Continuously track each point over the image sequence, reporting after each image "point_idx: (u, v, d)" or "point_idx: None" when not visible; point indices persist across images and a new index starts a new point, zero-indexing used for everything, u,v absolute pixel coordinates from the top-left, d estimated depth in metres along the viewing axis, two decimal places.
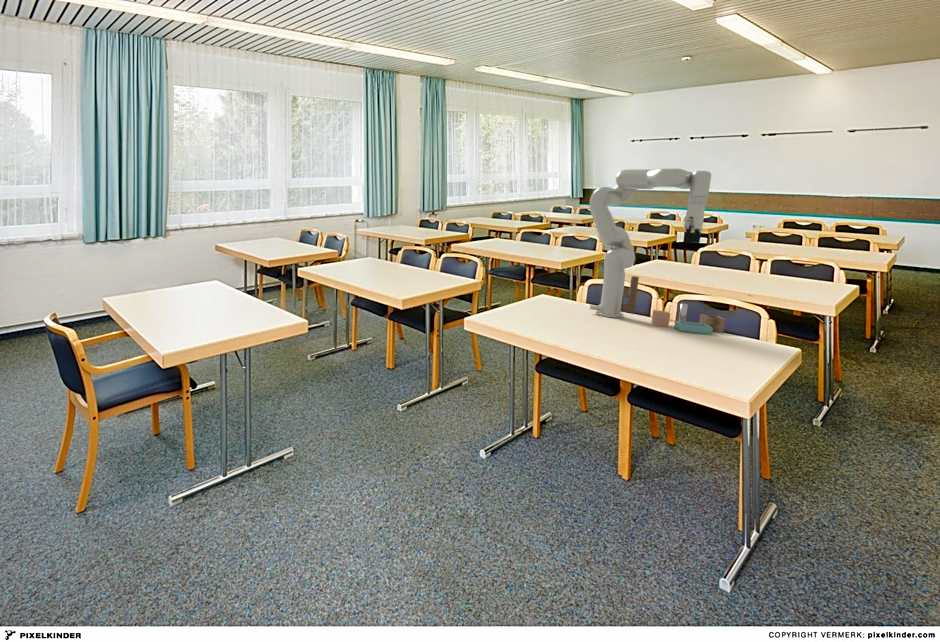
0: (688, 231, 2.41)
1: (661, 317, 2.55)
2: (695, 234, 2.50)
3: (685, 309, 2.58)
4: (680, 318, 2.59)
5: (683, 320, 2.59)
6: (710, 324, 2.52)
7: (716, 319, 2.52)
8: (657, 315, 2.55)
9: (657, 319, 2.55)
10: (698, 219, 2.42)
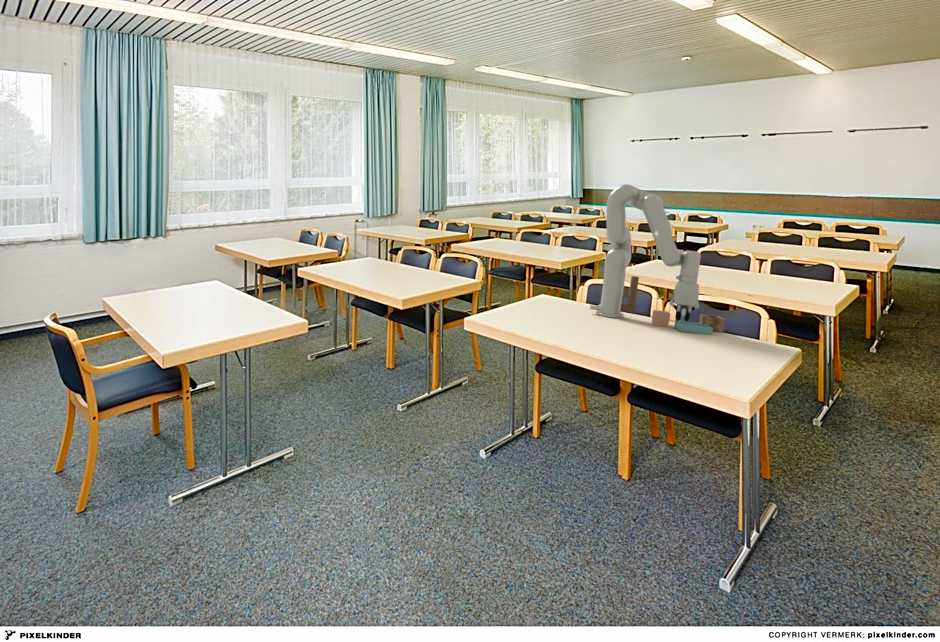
0: None
1: (661, 317, 2.55)
2: None
3: (685, 309, 2.58)
4: (680, 318, 2.59)
5: (683, 320, 2.59)
6: (710, 324, 2.52)
7: (716, 319, 2.52)
8: (657, 315, 2.55)
9: (657, 319, 2.55)
10: None
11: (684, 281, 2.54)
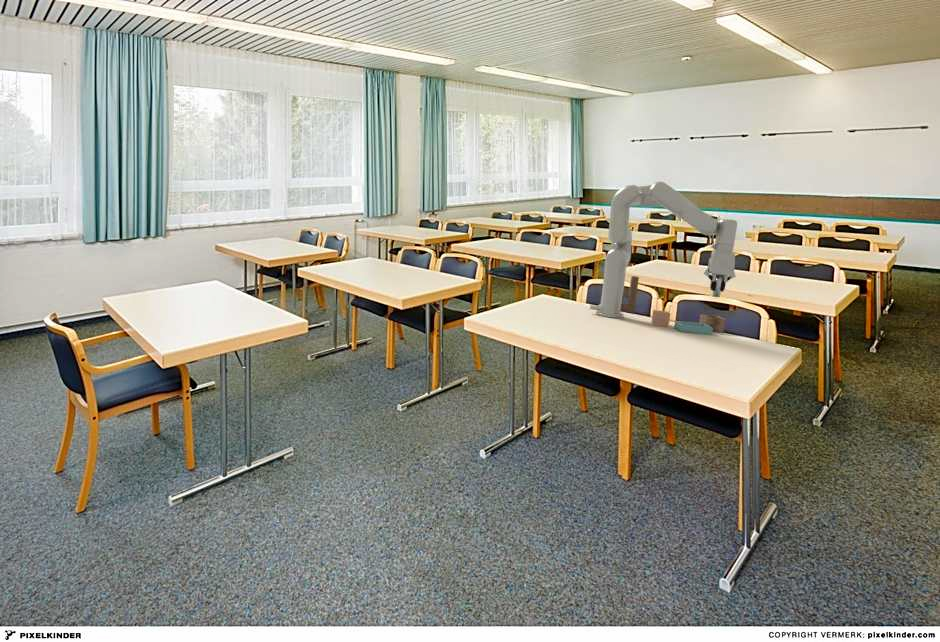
0: (725, 282, 2.53)
1: (661, 317, 2.55)
2: None
3: (721, 279, 2.51)
4: (715, 288, 2.52)
5: (718, 290, 2.52)
6: (710, 324, 2.52)
7: (716, 319, 2.52)
8: (657, 315, 2.55)
9: (657, 319, 2.55)
10: None
11: (720, 250, 2.48)
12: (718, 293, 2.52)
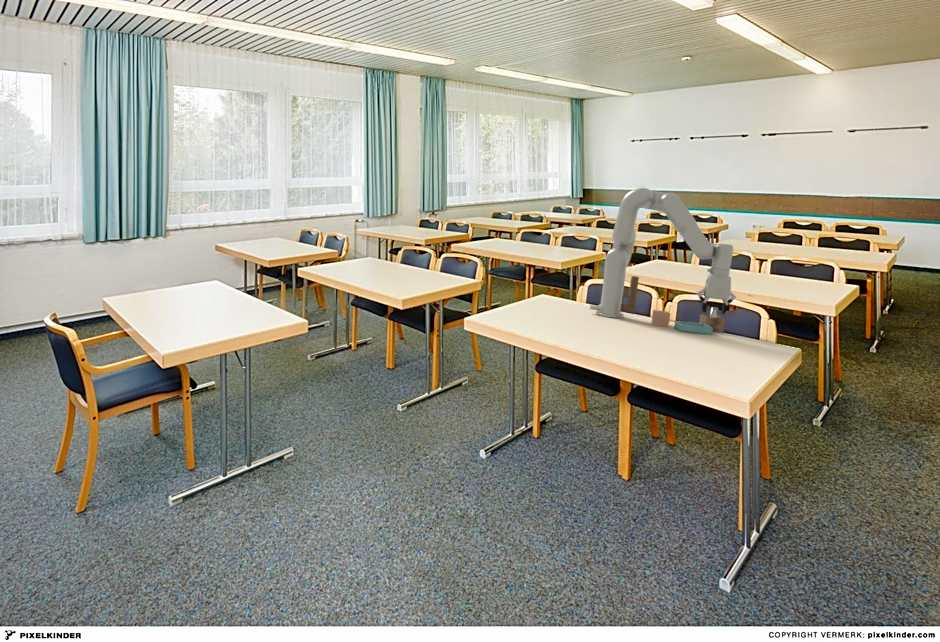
0: None
1: (661, 317, 2.55)
2: None
3: (716, 313, 2.54)
4: None
5: None
6: (710, 324, 2.52)
7: (716, 319, 2.52)
8: (657, 315, 2.55)
9: (657, 319, 2.55)
10: None
11: (716, 274, 2.50)
12: None
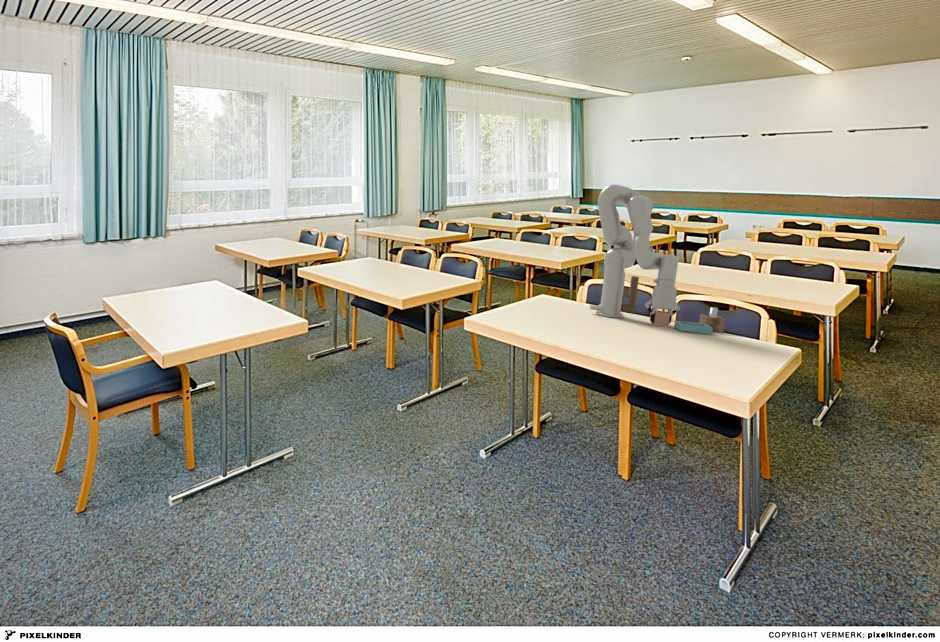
0: None
1: (661, 317, 2.55)
2: None
3: (715, 313, 2.54)
4: None
5: None
6: (710, 324, 2.52)
7: (716, 319, 2.52)
8: (657, 315, 2.55)
9: (657, 319, 2.55)
10: None
11: (662, 285, 2.52)
12: None
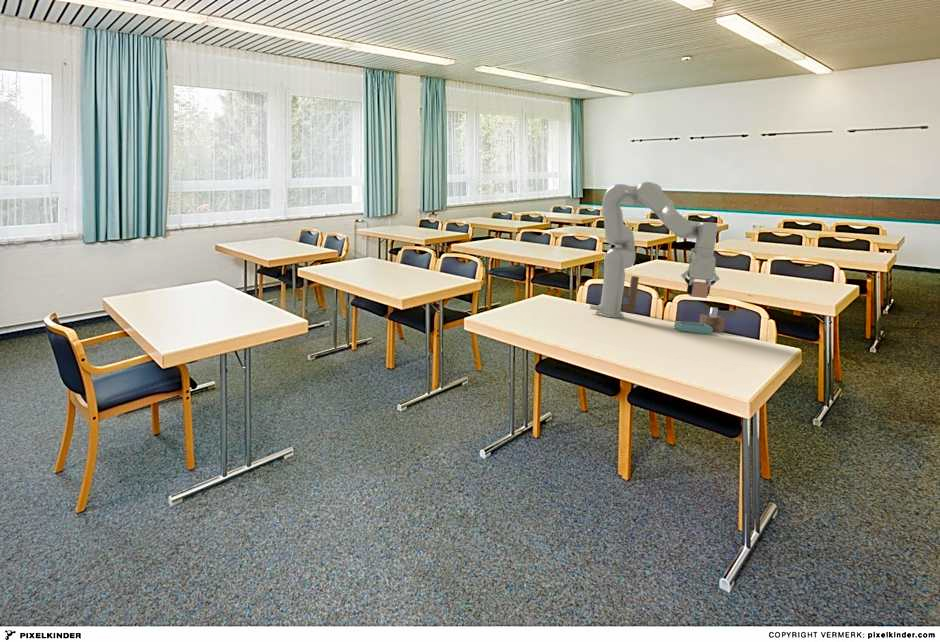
0: None
1: (699, 287, 2.43)
2: None
3: (715, 313, 2.54)
4: None
5: None
6: (710, 324, 2.52)
7: (716, 319, 2.52)
8: (695, 286, 2.43)
9: (695, 290, 2.44)
10: None
11: (700, 253, 2.41)
12: None
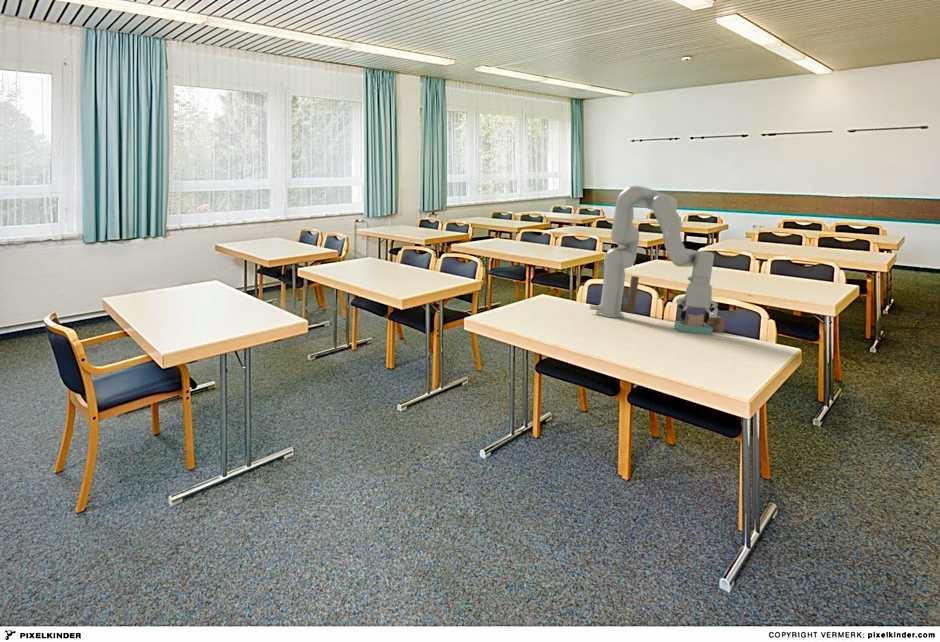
0: None
1: (694, 321, 2.46)
2: None
3: (715, 313, 2.54)
4: None
5: None
6: (710, 324, 2.52)
7: (716, 319, 2.52)
8: (690, 319, 2.46)
9: (690, 324, 2.46)
10: None
11: (696, 282, 2.43)
12: None
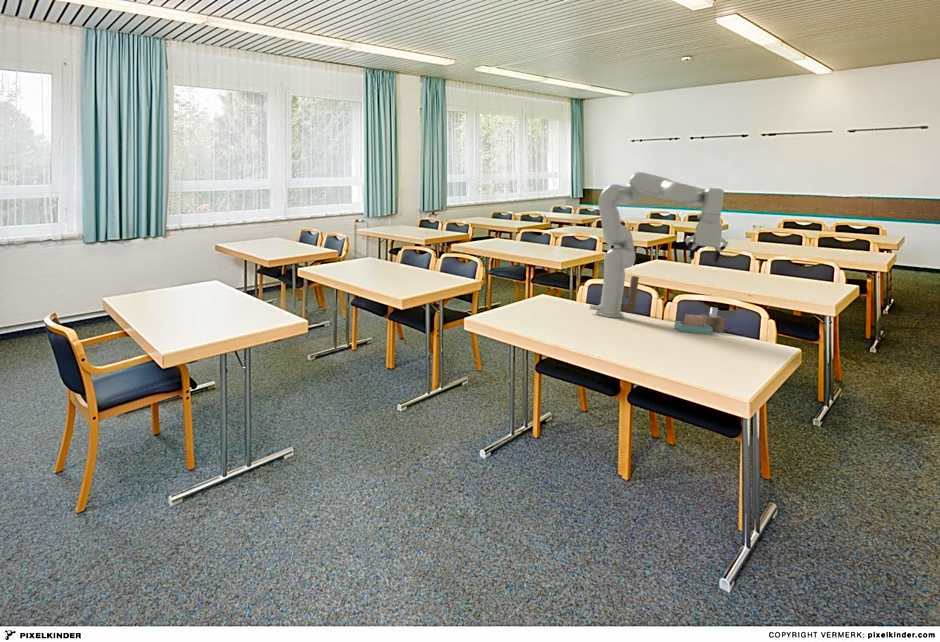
0: None
1: (694, 321, 2.46)
2: None
3: (715, 313, 2.54)
4: None
5: None
6: (710, 324, 2.52)
7: (716, 319, 2.52)
8: (690, 319, 2.46)
9: (690, 324, 2.46)
10: None
11: (706, 220, 2.39)
12: None
